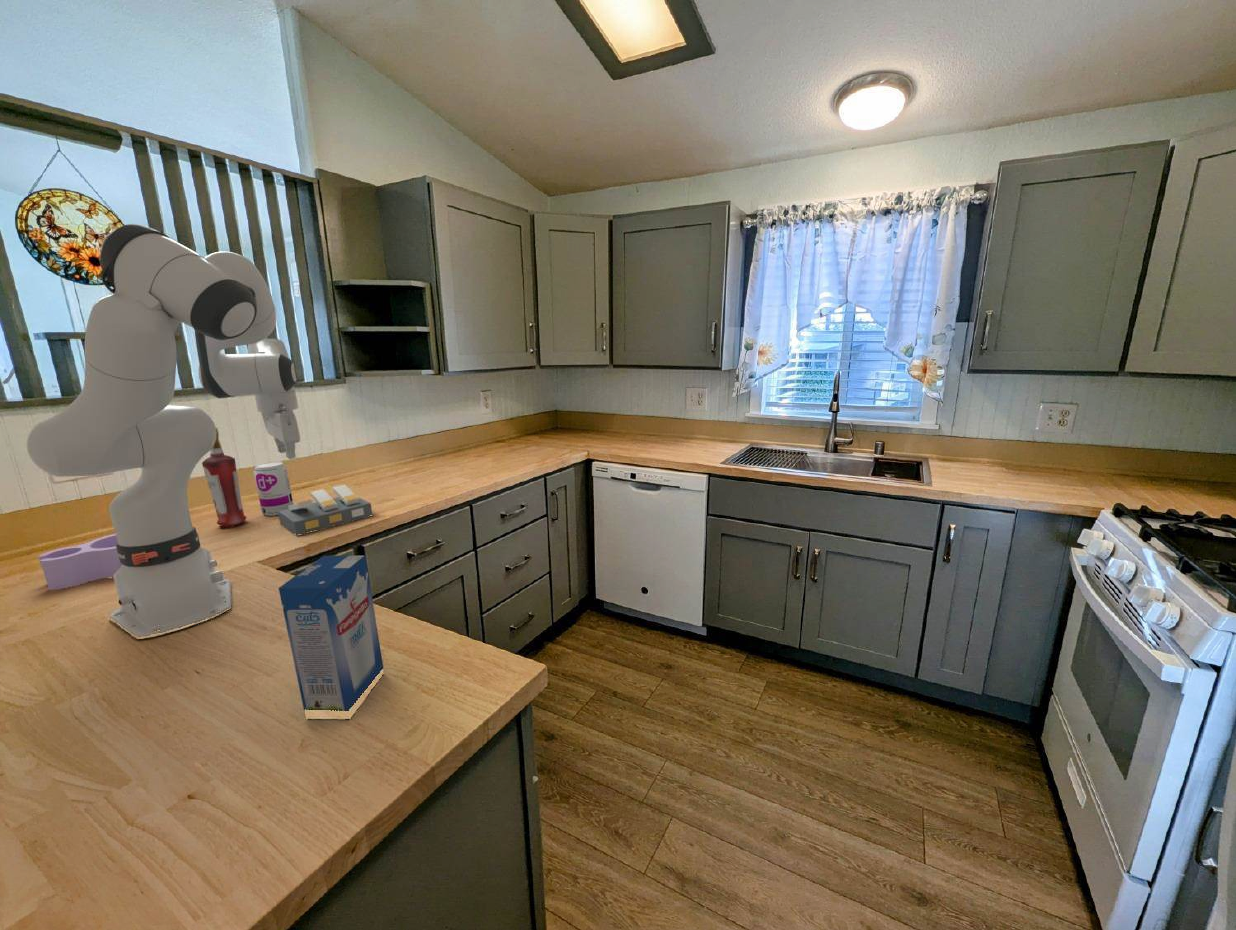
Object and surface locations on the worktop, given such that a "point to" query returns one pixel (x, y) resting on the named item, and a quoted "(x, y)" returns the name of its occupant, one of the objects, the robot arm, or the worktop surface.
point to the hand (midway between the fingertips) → (286, 455)
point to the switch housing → (322, 516)
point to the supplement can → (273, 487)
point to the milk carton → (332, 631)
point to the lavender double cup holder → (81, 563)
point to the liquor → (224, 486)
